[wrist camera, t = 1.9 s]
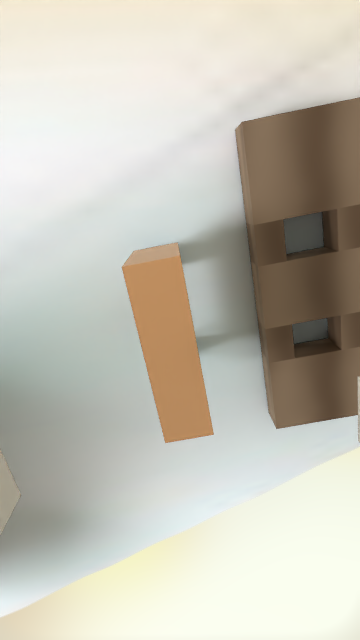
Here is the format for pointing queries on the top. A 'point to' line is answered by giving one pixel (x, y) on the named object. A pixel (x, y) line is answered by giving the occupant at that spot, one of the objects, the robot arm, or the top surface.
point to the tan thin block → (168, 341)
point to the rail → (305, 256)
